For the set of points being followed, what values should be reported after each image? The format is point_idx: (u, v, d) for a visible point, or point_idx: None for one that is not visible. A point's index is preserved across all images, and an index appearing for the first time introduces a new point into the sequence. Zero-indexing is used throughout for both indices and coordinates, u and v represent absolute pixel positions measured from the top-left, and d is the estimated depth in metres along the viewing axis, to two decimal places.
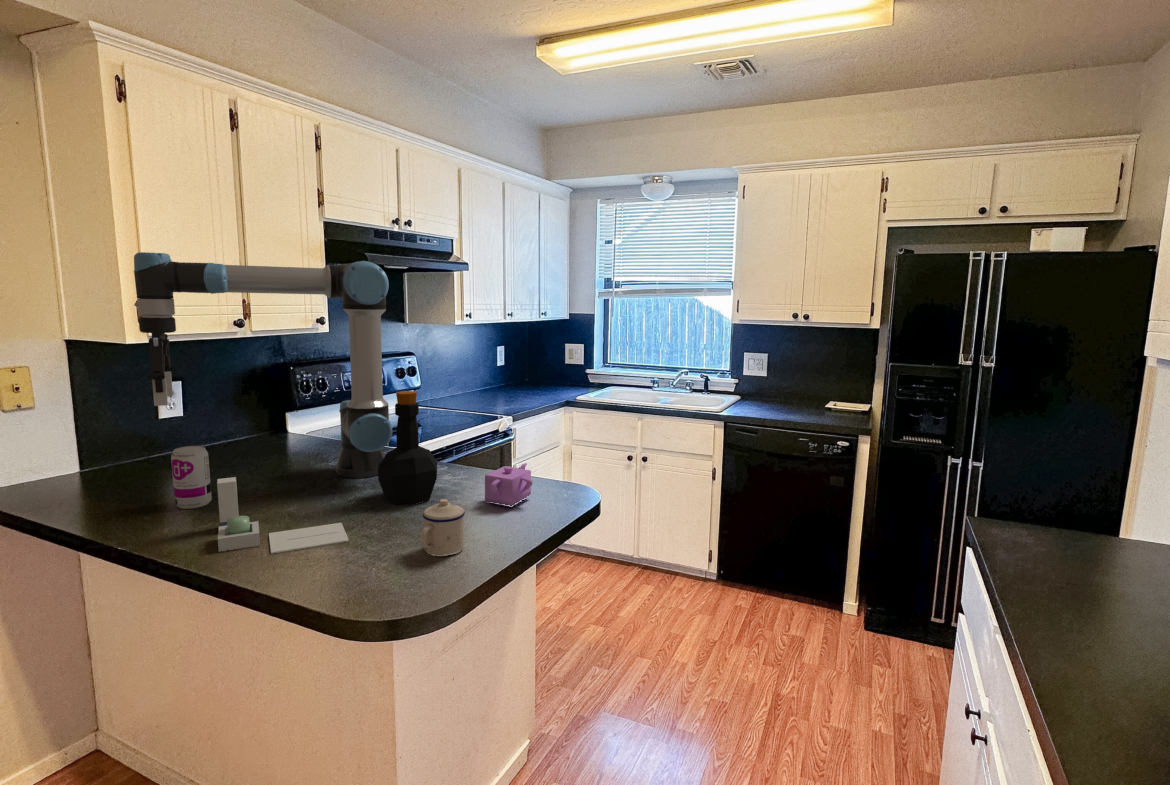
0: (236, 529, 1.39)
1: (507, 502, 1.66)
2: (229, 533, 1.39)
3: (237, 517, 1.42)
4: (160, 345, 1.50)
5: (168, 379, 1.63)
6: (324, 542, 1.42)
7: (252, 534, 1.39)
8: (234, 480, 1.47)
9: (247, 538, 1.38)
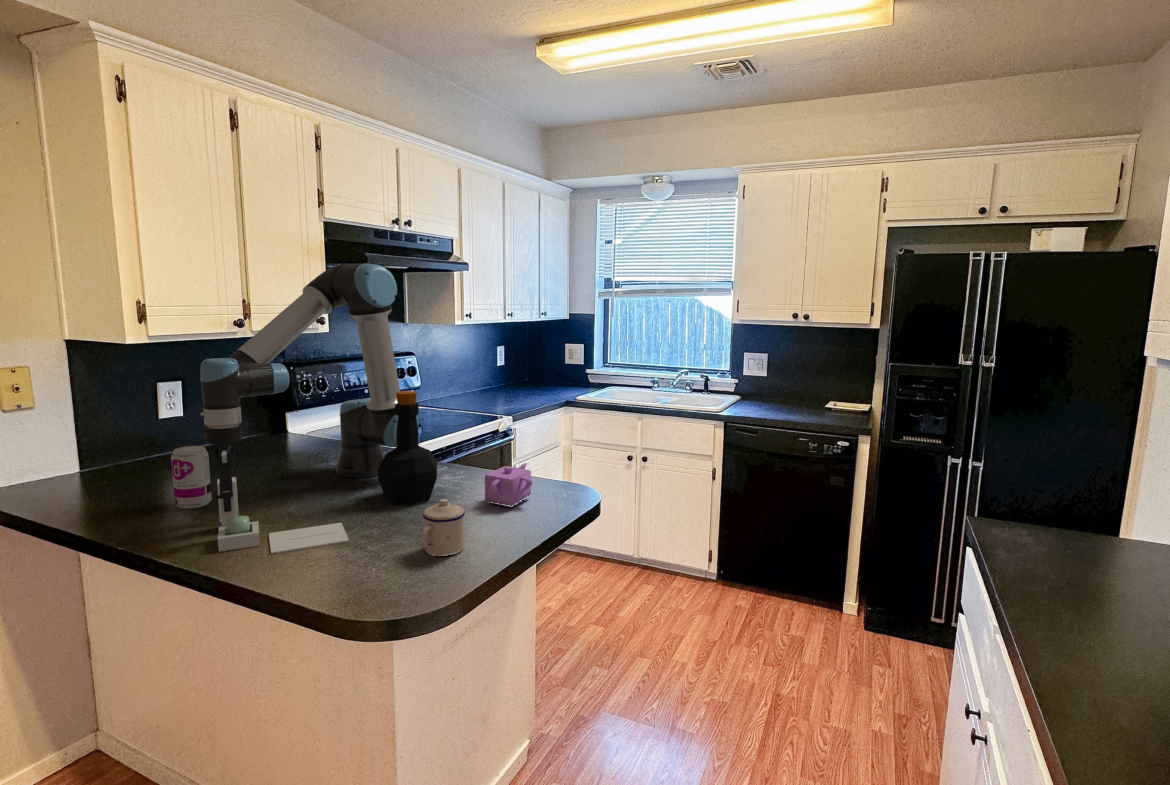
0: (236, 529, 1.39)
1: (507, 502, 1.66)
2: (229, 533, 1.39)
3: (237, 517, 1.42)
4: (229, 461, 1.41)
5: None
6: (324, 542, 1.42)
7: (252, 534, 1.39)
8: (234, 480, 1.47)
9: (247, 538, 1.38)
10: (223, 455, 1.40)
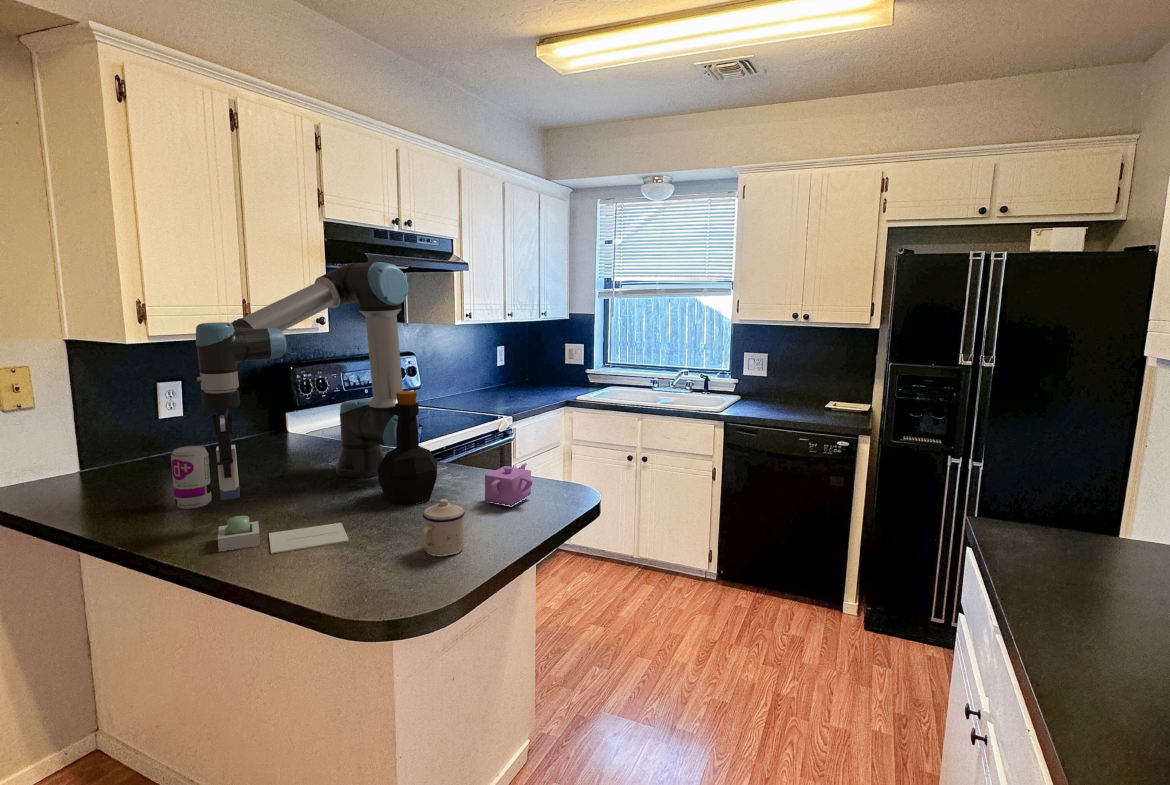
0: (236, 529, 1.39)
1: (507, 502, 1.66)
2: (229, 533, 1.39)
3: (237, 517, 1.42)
4: (227, 431, 1.40)
5: None
6: (324, 542, 1.42)
7: (252, 534, 1.39)
8: (233, 447, 1.46)
9: (247, 538, 1.38)
10: (221, 425, 1.39)
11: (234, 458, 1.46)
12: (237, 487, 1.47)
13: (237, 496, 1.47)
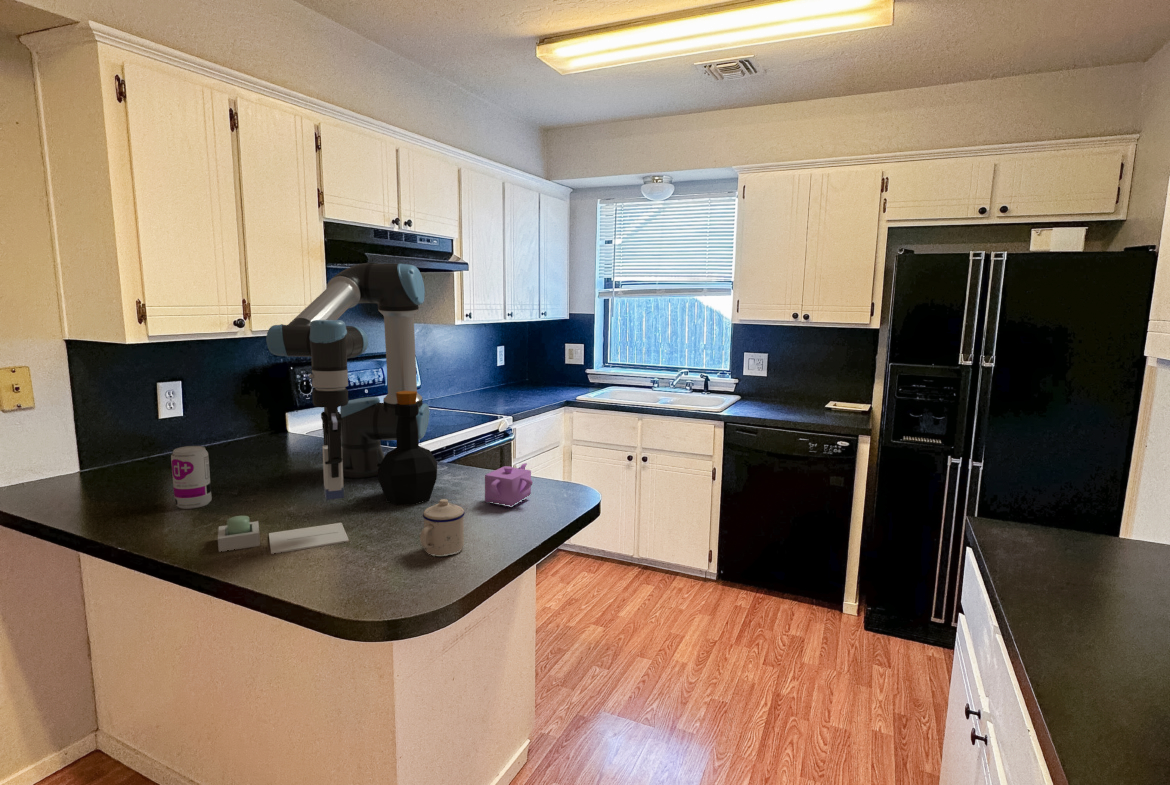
0: (236, 529, 1.39)
1: (507, 502, 1.66)
2: (229, 533, 1.39)
3: (237, 517, 1.42)
4: (339, 429, 1.38)
5: None
6: (324, 542, 1.42)
7: (252, 534, 1.39)
8: None
9: (247, 538, 1.38)
10: (334, 423, 1.37)
11: None
12: (342, 487, 1.45)
13: (341, 496, 1.45)
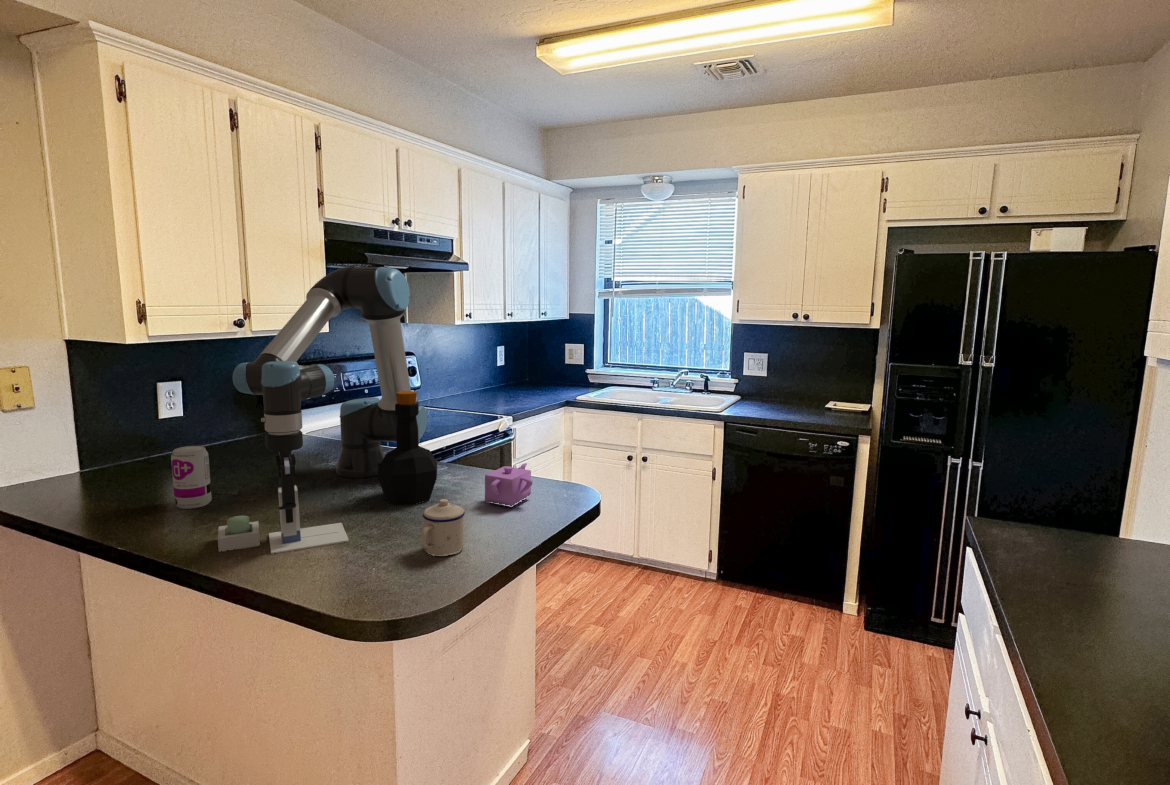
0: (236, 529, 1.39)
1: (507, 502, 1.66)
2: (229, 533, 1.39)
3: (237, 517, 1.42)
4: (292, 473, 1.35)
5: None
6: (324, 542, 1.42)
7: (252, 534, 1.39)
8: (295, 489, 1.41)
9: (247, 538, 1.38)
10: (286, 467, 1.34)
11: (296, 500, 1.40)
12: (299, 530, 1.42)
13: (298, 539, 1.42)
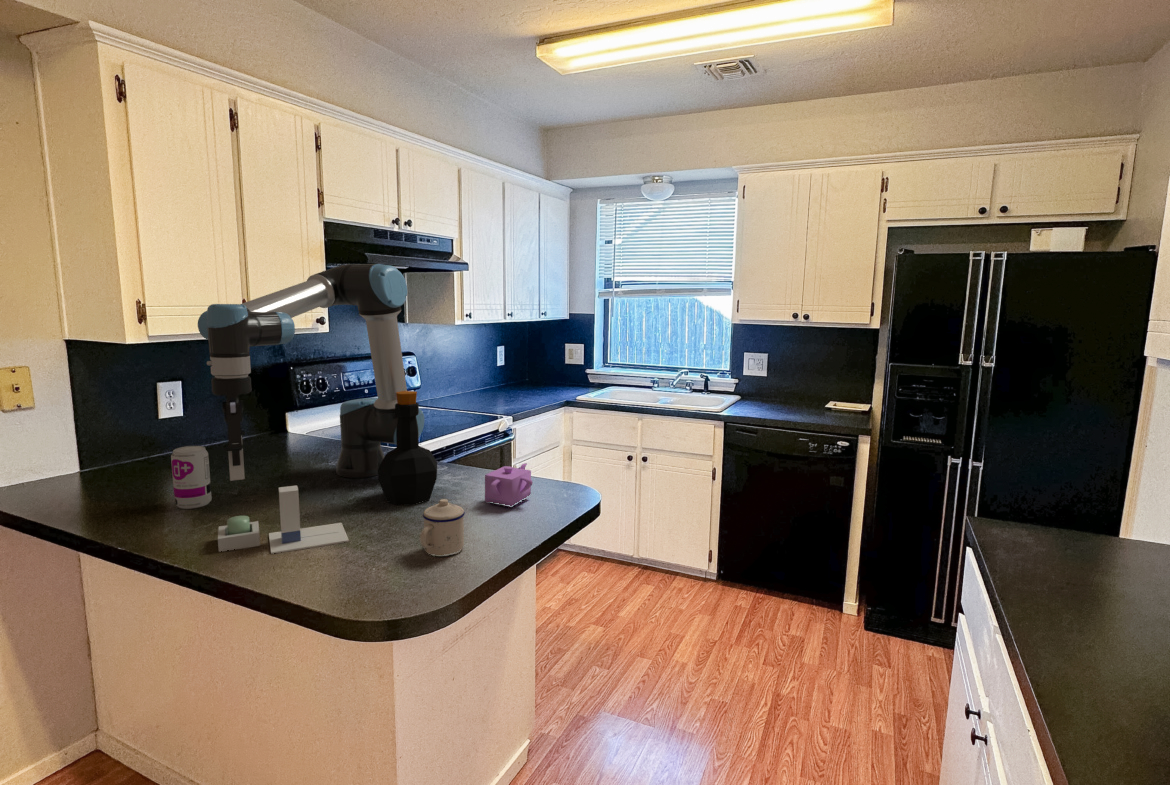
0: (236, 529, 1.39)
1: (507, 502, 1.66)
2: (229, 533, 1.39)
3: (237, 517, 1.42)
4: (238, 411, 1.31)
5: None
6: (324, 542, 1.42)
7: (252, 534, 1.39)
8: (296, 489, 1.41)
9: (247, 538, 1.38)
10: (232, 404, 1.30)
11: (297, 500, 1.40)
12: (299, 530, 1.42)
13: (298, 539, 1.42)
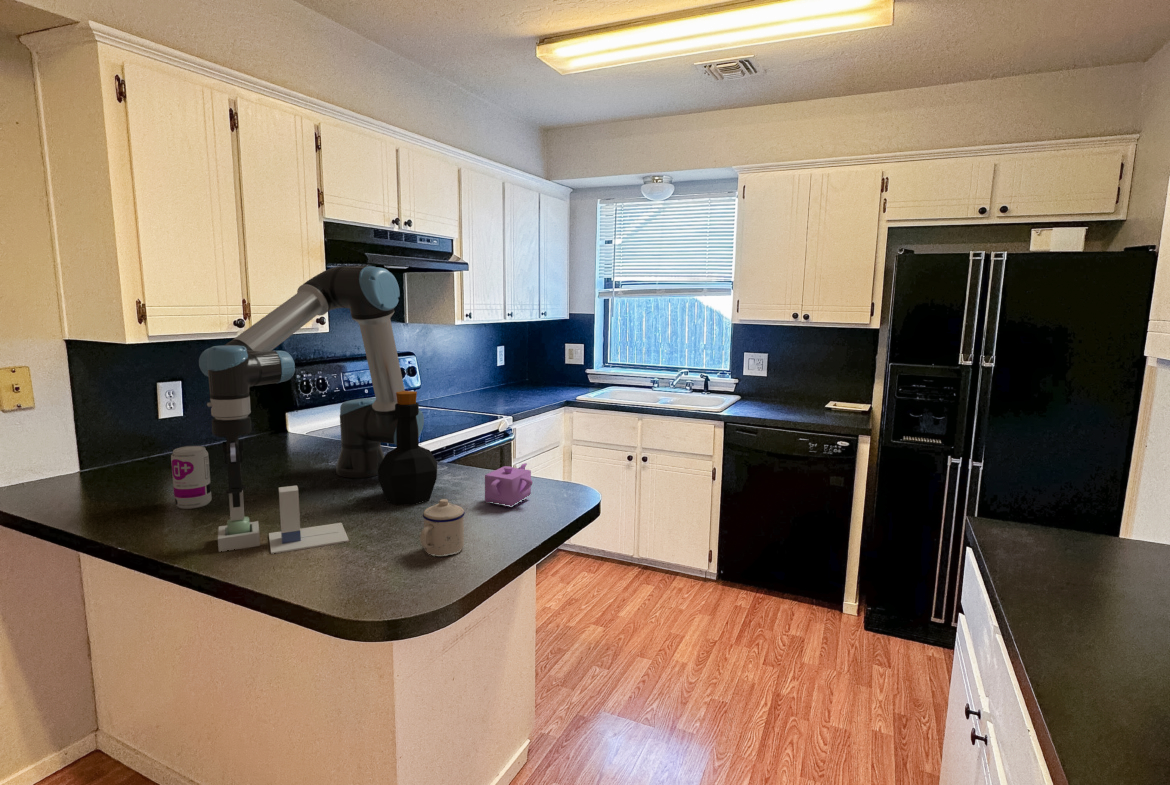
0: (236, 530, 1.39)
1: (507, 502, 1.66)
2: (229, 534, 1.39)
3: None
4: (238, 461, 1.34)
5: None
6: (324, 542, 1.42)
7: (252, 534, 1.39)
8: (296, 489, 1.41)
9: (247, 538, 1.38)
10: (232, 456, 1.32)
11: (297, 500, 1.40)
12: (299, 530, 1.42)
13: (298, 539, 1.42)
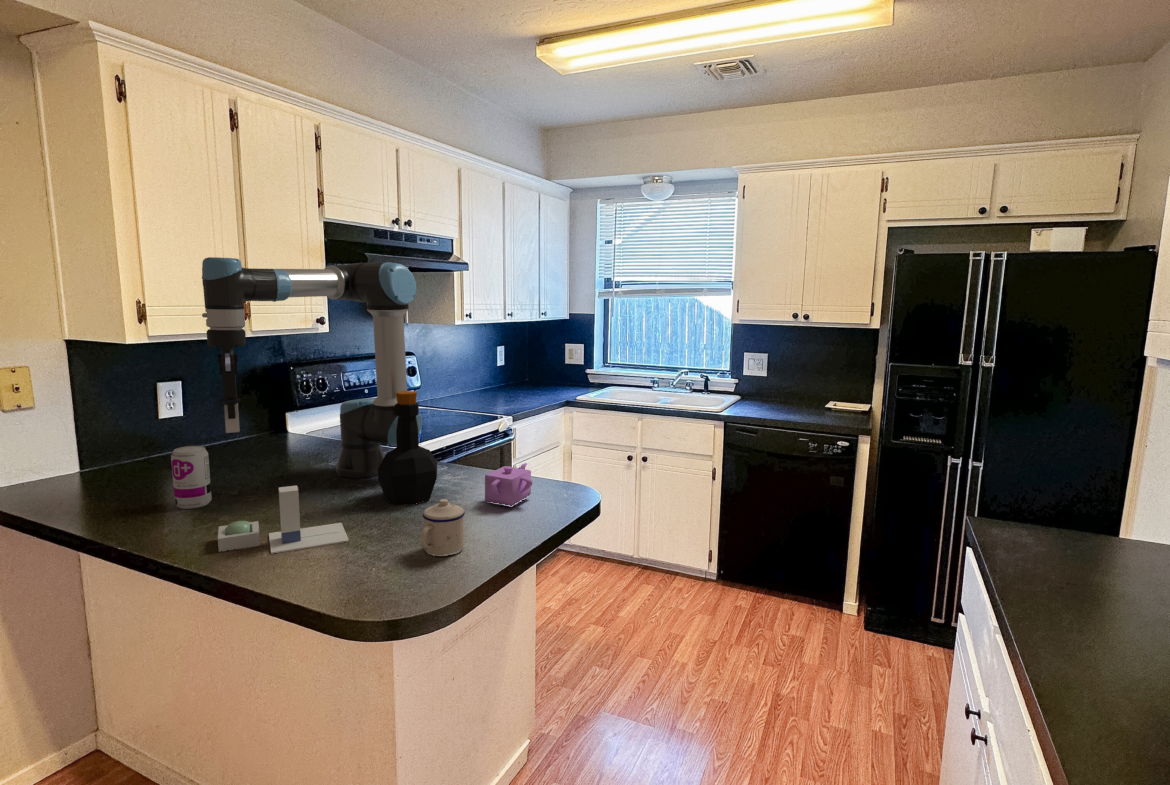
0: None
1: (507, 502, 1.66)
2: None
3: (237, 522, 1.42)
4: (233, 371, 1.36)
5: None
6: (324, 542, 1.42)
7: (252, 534, 1.39)
8: (296, 489, 1.41)
9: (247, 538, 1.38)
10: (227, 365, 1.35)
11: (297, 500, 1.40)
12: (299, 530, 1.42)
13: (298, 539, 1.42)
